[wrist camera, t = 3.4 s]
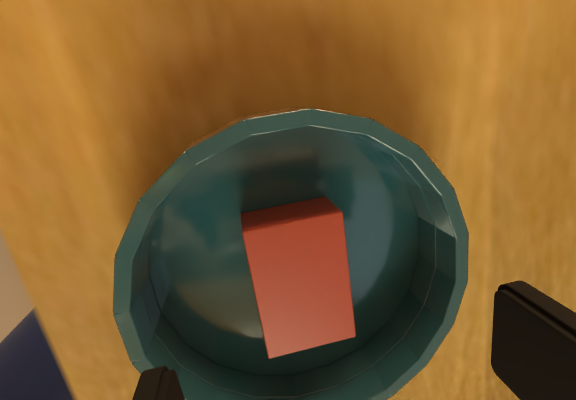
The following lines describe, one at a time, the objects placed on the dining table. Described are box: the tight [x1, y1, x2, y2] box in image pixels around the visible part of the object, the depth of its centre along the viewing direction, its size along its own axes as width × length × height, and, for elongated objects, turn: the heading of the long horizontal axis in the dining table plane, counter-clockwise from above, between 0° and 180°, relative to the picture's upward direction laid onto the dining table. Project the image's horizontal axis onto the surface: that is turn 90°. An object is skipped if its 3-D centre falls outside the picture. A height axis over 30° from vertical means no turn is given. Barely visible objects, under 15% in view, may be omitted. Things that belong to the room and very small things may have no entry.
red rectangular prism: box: [240, 197, 356, 359], centre depth 15 cm, size 6×4×2 cm, turn 9°
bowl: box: [113, 108, 469, 400], centre depth 15 cm, size 14×14×4 cm
